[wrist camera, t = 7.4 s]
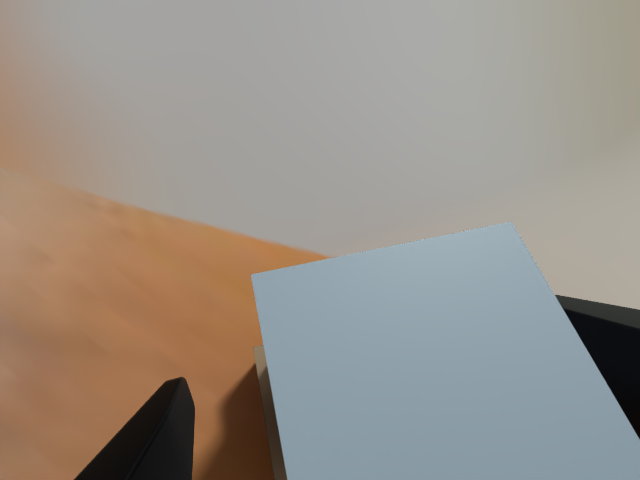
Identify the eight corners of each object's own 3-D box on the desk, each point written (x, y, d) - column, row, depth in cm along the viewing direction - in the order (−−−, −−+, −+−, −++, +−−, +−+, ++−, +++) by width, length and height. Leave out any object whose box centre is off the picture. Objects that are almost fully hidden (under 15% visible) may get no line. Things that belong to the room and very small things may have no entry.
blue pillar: (398, 439, 15) (707, 554, 4) (294, 475, 14) (336, 756, 3) (365, 333, 17) (511, 221, 6) (272, 357, 16) (250, 274, 5)
